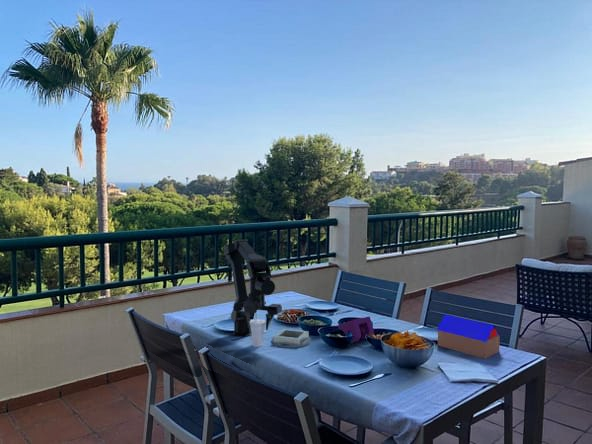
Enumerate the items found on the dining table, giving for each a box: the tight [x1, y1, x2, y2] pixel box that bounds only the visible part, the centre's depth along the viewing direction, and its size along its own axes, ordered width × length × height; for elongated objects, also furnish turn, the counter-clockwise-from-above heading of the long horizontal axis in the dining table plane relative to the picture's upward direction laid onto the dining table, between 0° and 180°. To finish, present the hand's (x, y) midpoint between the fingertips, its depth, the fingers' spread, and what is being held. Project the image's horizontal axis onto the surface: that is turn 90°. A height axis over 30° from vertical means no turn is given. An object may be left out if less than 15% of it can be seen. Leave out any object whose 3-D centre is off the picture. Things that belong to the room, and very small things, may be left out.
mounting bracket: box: [333, 315, 375, 344], centre depth 192 cm, size 9×8×18 cm
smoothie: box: [249, 311, 266, 348], centre depth 181 cm, size 6×6×14 cm
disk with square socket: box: [271, 328, 312, 349], centre depth 186 cm, size 16×16×3 cm
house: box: [436, 313, 501, 360], centre depth 178 cm, size 12×20×12 cm, turn 42°
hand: (257, 328), depth 181 cm, fingers open, 8 cm apart
